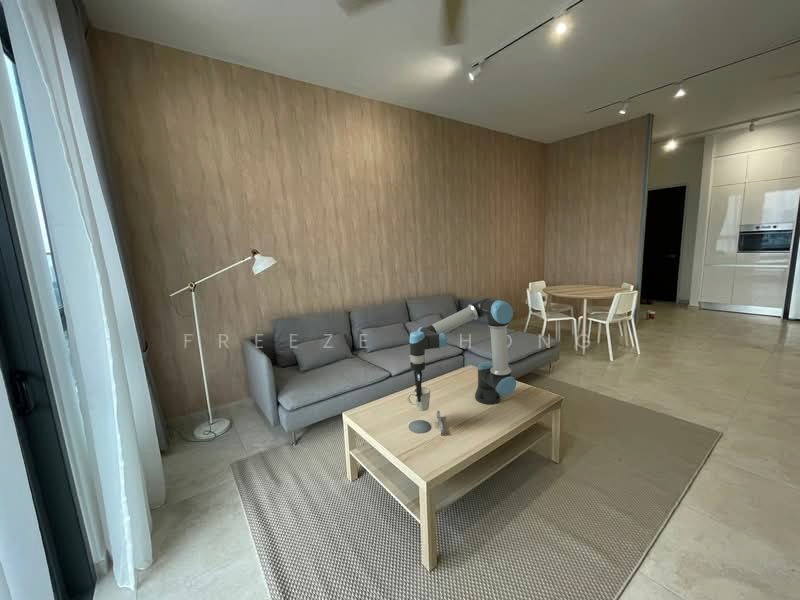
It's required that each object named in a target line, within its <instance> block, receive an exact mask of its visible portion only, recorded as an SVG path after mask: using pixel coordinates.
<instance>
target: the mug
mask: <svg viewBox="0 0 800 600" xmlns="http://www.w3.org/2000/svg"><path fill="white" fill-rule="evenodd" d="M421 388H422V407H417V401H416V400H415V402H413V401H411V400H410V397H411V396H414V398H415V399H416V396H415V395H416V394H417V391H416V389H414V392H410V393H408V394H407V397H406V400H407V402H408V403H409V404H410V405H413V406H416V408H417V410H418V411H420V412H425V411H428V410H429V408H430V398H431V389H430V388H428V387H425V386H424V387H423V386H421Z"/></svg>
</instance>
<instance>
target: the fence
mask: <svg viewBox="0 0 800 600" xmlns="http://www.w3.org/2000/svg"><path fill="white" fill-rule="evenodd" d="M436 418H437V423H438V425H439V430H440V431H439V432H440V436H442V437H443V436H444V435H445V431H444V428H445V427H444V426H443V423H442V418H441V412H440V410H437V411H436Z"/></svg>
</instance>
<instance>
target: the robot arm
mask: <svg viewBox="0 0 800 600" xmlns="http://www.w3.org/2000/svg"><path fill="white" fill-rule="evenodd" d="M513 310H514V309H513V307H512V306H511V305H510V303H508V302H506V301H505V300H500V299H495V298H491V297H484V298H481V299H478V300H476V301H474V302H472V303H470V304H468V305H467V307H465V308H464V309H461V310H459V311H457V312H455V313H453V314H451V315H449V316H447V317H445V318H443V319H441V320H438V321H436V322H435V323H432V324H431V325H428V326H420V327H419V328H418V329H417V331H415V330H414V331H412V332H410V333H409V353H410V355H409V356H408V358H409V359H410V370H411V371H413V374H414V375H413V376H414V383H415V385H414V386H415V387H414V388H415V389H416V391H417V394H416V395H414V397H415V396H416V398H415V402H416V401H417V405H416V408H417V407H422V388H421V387H422V381H423V379H422V378H423V372H422V371H424V370H425V369H426V351H428V350H434V349H441V348H446V346H447V345H448V339H447V336H446V333H448V332H450V331H452V330H454V329H456V328H458V327H460V326H462V325H464V324H466V323H468V322H470V321H473V320H479V319H482V318H486V325H487V326H488V327H489V329H490V344H491V345H490V346H491V347H490V348H491V361H484V362H480V363H479V364H477V366H478V367H477V388H476V389H475V390H476V391H475V393H474V398H475V400H476V401H477V402H478V403H480V404H483V405H484V404H485V405H496V404H498V403H499V402H501V396H509V395H511V394H512V393H513V392H514V391H515V389H516V388H517V380H516V379H515V377H513V374H512V372H513V371H512V368H510V367H509V353H508V351H509V349H508V336H507V335H508V332H507V328H508V326H509V325H510V322H511V321H512V319H513V316H514V311H513ZM415 389H414V390H415Z"/></svg>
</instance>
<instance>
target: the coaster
mask: <svg viewBox="0 0 800 600" xmlns="http://www.w3.org/2000/svg"><path fill="white" fill-rule="evenodd" d="M431 428H432V424H431V423H430V422H428V421H426V420H424V419H415V420H413V421H411V422H410V423H409V424H408V429H409V431H411V432H412V433H414V434H426V433H427V432H429V431H430V430H431Z"/></svg>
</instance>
